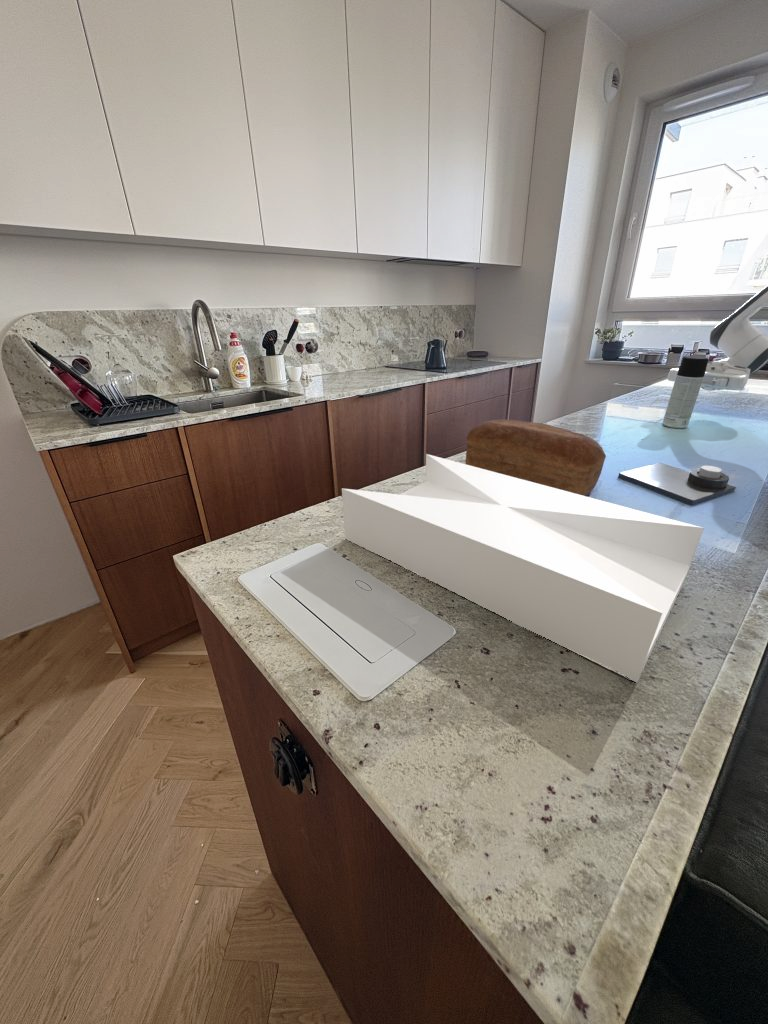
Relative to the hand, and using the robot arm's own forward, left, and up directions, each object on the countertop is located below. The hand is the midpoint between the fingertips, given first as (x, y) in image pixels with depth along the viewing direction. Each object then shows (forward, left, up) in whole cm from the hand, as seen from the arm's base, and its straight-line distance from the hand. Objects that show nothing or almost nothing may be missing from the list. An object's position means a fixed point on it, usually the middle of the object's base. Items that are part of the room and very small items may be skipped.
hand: (695, 381), depth 126 cm
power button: (-33, +46, -10) cm, 57 cm away
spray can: (-1, +6, -13) cm, 14 cm away
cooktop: (-29, +50, -13) cm, 59 cm away
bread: (-13, +75, -13) cm, 78 cm away
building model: (-35, +102, -13) cm, 108 cm away
